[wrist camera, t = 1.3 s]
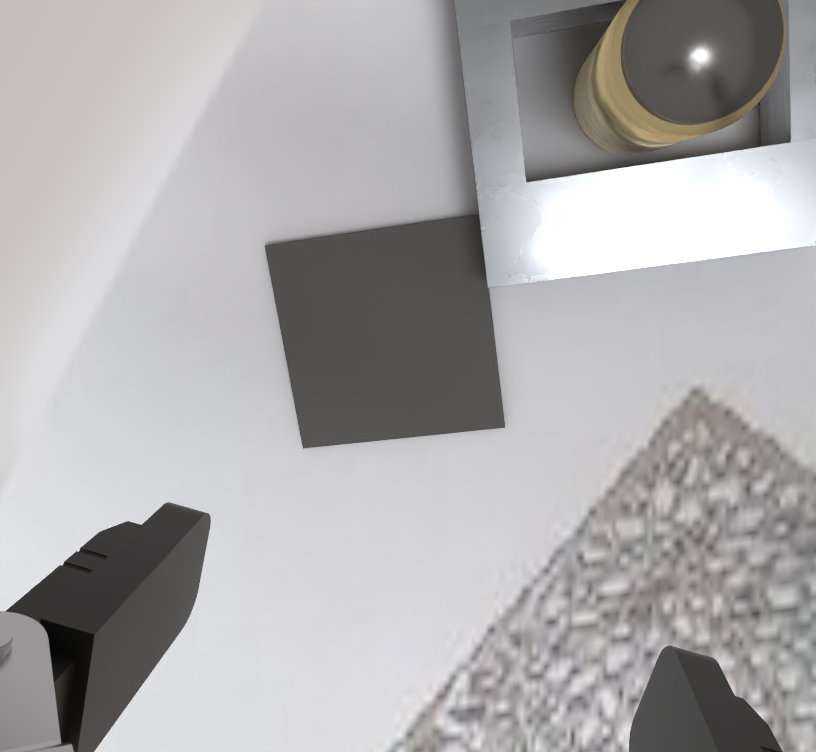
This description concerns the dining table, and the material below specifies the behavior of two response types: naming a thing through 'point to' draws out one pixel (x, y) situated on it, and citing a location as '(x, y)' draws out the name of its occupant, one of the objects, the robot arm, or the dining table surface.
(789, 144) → the block
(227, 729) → the dining table surface
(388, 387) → the mat
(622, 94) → the tan cylinder
